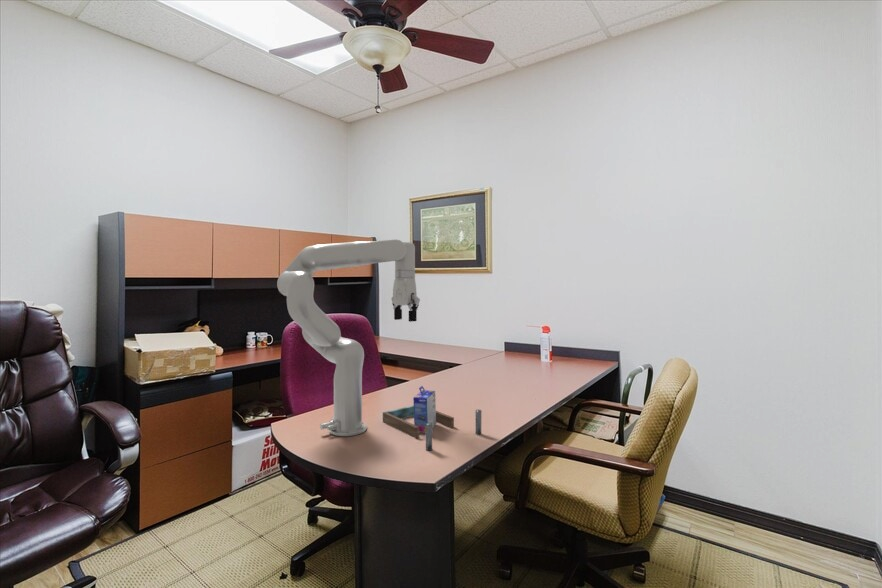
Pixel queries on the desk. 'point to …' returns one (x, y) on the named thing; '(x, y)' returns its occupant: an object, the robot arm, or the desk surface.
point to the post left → (428, 436)
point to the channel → (396, 421)
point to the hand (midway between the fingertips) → (405, 320)
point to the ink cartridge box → (424, 409)
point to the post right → (478, 422)
